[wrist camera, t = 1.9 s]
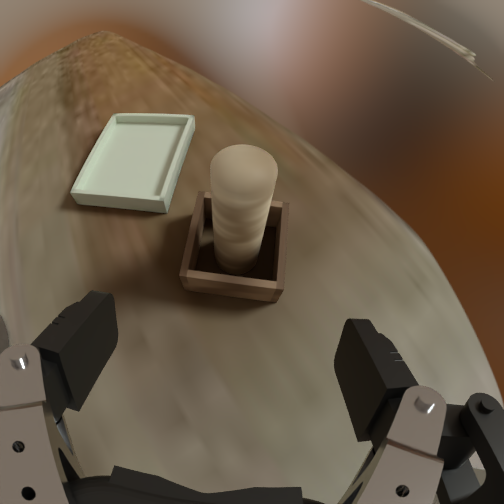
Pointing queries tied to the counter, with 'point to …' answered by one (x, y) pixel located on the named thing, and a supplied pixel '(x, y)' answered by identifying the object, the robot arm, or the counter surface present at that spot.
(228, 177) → the dowel
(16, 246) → the counter surface
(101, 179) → the tray
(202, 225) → the box
